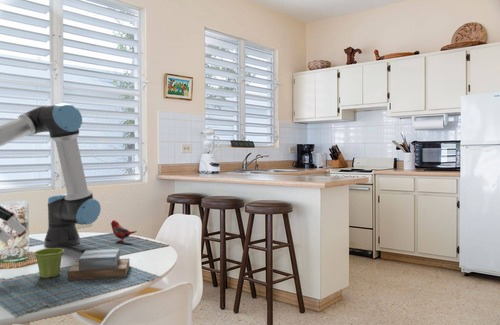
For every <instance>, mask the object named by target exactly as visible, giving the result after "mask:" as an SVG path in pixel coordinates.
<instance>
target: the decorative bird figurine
mask: <svg viewBox="0 0 500 325" xmlns="http://www.w3.org/2000/svg"><path fill="white" fill-rule="evenodd" d="M110 225H111V229H112V232H113V234H114V236H115V237H116V238H118V240H116V241H117V242H119V243H120V242H121V243H124V242H125V241H124V239H126V238H128V237H130V235H132V234H135V233H137V232H138V231H137V230H135V231H134V230H133V231H130V230H128V229H127V228H125V227H124V226H122V225H121V224H119V222H118V221H117V220H112V221H111V222H110Z"/></svg>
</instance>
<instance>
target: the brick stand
mask: <svg viewBox="0 0 500 325" xmlns="http://www.w3.org/2000/svg"><path fill="white" fill-rule="evenodd" d="M120 254H121V253H120V248H109V249H86V250H84V252H83V253H82V254H81V255H80V256H79V257H78V260H76V261H75V262H74V263H73V264H72V266H71V267H70V268H69V269H68V270H67V281H73V280H76V281H77V280H94V279H95V280H96V279H111V278H114V279H115V278H126V277H127V275H128V271H129V269H130V258H121V256H120Z"/></svg>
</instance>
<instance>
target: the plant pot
mask: <svg viewBox="0 0 500 325" xmlns="http://www.w3.org/2000/svg"><path fill="white" fill-rule="evenodd" d="M64 251H65V249H64V248H62V247H49V248H43V249H39V250H36V251H35V252H33V254H34V256H35V259H36V260H37V267H38V272H39V277H40V278H44V279H49V278H51V277H52V278H55V277H58V276H59V275H60V271H61V263H62V257H63V253H64Z"/></svg>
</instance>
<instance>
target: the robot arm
mask: <svg viewBox="0 0 500 325" xmlns="http://www.w3.org/2000/svg"><path fill="white" fill-rule="evenodd" d="M82 125H83V116H82V113H81V112H80V110H79V108H77V107H75V105H72V104H69V103H57V104H44V105H41V106H38V107H36V108H33V109H31V110H29V111H26V112H24V113H22V114H20V115H18V118H16V119H13V120H10V121H8V122H6V123H4V124H1V125H0V147H2V146H5V145H7V144H9V143H12V142H15V141H16V140H19V139H20V138H21V139H22V138H24V137H25V136H34V135H36V134H41V133H46V132H47V133H49V137H50V139H51V140H53V141H54V142H55V146H56V149H57V155H58V159H59V163H60V168H61V172H62V176H63V180H64V184H65V190H66V194H59V195H51V196H49V197H48V199H47V200H48V201H47V211H48V212H47V214H48V216H47V217H48V220H47V222H48V223H47V224H48V228H47V231H46V235H45V238H44V242H43V243H44V247H49V248H62V247H63V248H65V247H70V246H75V245H78V244H80V243H81V237H80V233H79V231H78V229H77V225H81V226H83V225H86V226H87V225H92V224H93V223H95V222H96V221H97V220H98V217H99V216H100V214H101V209H102V208H101V207H102V206H101V203H100V201H98V200H97V199H96V198H95V199H94V195H93V192H92V191H91V190H90V189H89V188H88V184H87V180H86V176H85V170H84V166H83V162H82V156H81V152H80V147H79V143H78V136H79V135H80V130H79V129H80V128H81V127H82ZM13 216H15V214H14V213H13V212H11V211H9V209H6V208H5V207H4V206H2V205H0V219H1V220H4V221H5V224H7V225H8V226H9V227H11V228H12V229H13V230H14V231H15V232H16V233H17V234H19V235H21V234H22V233H23V232H24V231H25V230H27V228H26V227H25V226H24V225H22V224H21V223H20V222H19V221H18V220H17V219H16V218H14V217H13ZM76 224H77V225H76ZM11 238H12V235H10V234H9V233H8V232H7V231H6V230H5V229H4V228H2V227H1V226H0V241H1V242H2V243H3V244H6V243H7V242H8V241H9V240H10V239H11Z"/></svg>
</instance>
